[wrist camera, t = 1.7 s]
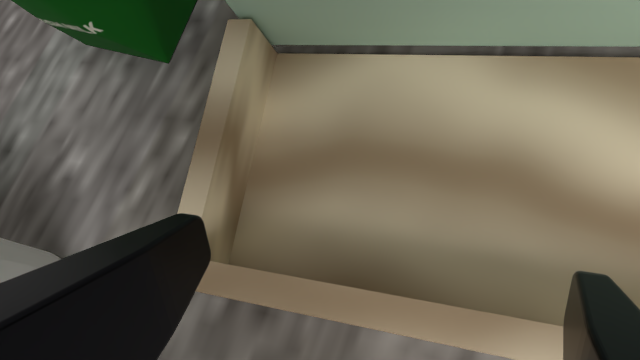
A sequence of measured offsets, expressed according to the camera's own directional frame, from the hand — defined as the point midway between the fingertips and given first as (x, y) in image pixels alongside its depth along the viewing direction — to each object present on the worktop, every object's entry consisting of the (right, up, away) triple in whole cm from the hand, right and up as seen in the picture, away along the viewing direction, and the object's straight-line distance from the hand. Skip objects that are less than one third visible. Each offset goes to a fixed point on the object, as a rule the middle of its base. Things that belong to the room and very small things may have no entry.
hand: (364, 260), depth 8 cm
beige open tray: (+5, +1, +13) cm, 14 cm away
